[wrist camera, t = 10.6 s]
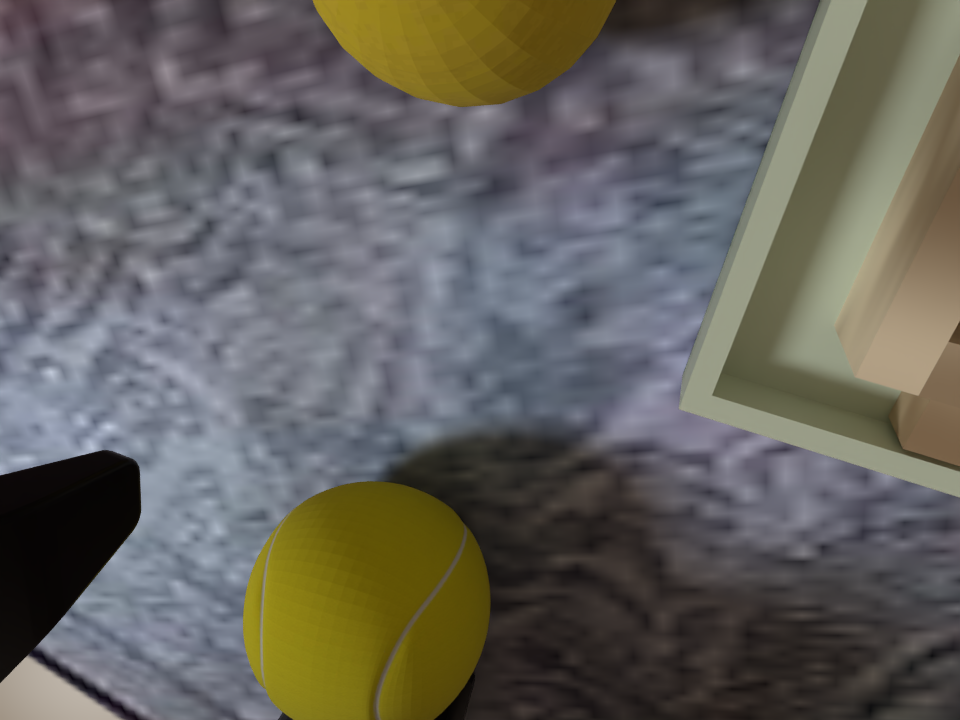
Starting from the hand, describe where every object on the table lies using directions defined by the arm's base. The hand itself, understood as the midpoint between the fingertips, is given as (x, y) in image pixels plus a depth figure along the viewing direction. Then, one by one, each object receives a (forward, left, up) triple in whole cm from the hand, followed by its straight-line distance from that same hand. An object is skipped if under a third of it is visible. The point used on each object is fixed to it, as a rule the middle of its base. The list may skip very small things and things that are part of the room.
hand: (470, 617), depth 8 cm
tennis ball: (-10, +4, -12) cm, 16 cm away
